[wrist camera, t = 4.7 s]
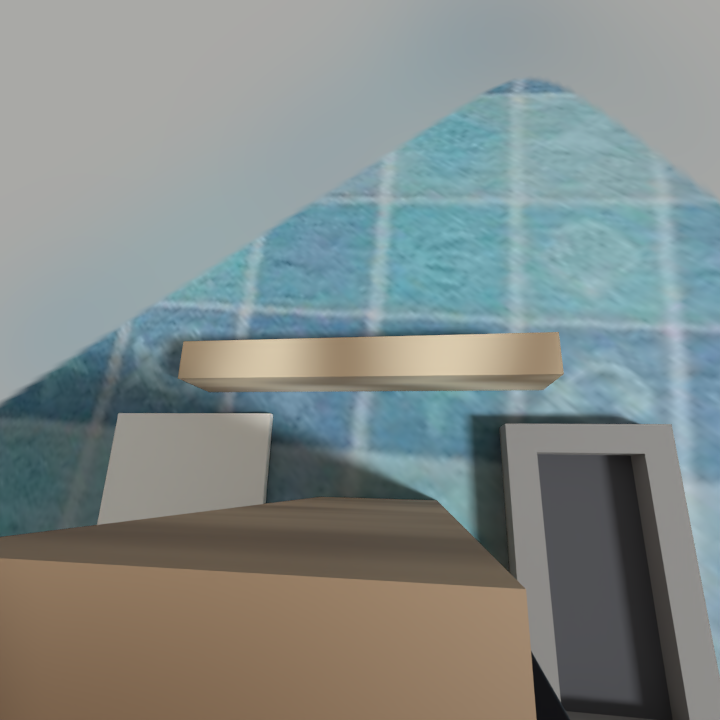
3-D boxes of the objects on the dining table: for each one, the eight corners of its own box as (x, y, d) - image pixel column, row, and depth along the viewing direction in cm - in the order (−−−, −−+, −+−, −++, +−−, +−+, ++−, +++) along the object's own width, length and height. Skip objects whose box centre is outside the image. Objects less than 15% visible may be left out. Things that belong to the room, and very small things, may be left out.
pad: (273, 414, 18) (270, 413, 17) (246, 728, 14) (243, 733, 14) (123, 414, 19) (118, 413, 18) (67, 708, 15) (61, 712, 15)
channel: (538, 353, 17) (558, 332, 14) (593, 872, 12) (635, 966, 10) (213, 359, 19) (183, 341, 16) (155, 808, 14) (101, 874, 12)
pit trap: (652, 428, 15) (671, 424, 14) (711, 761, 12) (741, 789, 11) (499, 427, 16) (505, 423, 15) (521, 740, 13) (531, 765, 12)
